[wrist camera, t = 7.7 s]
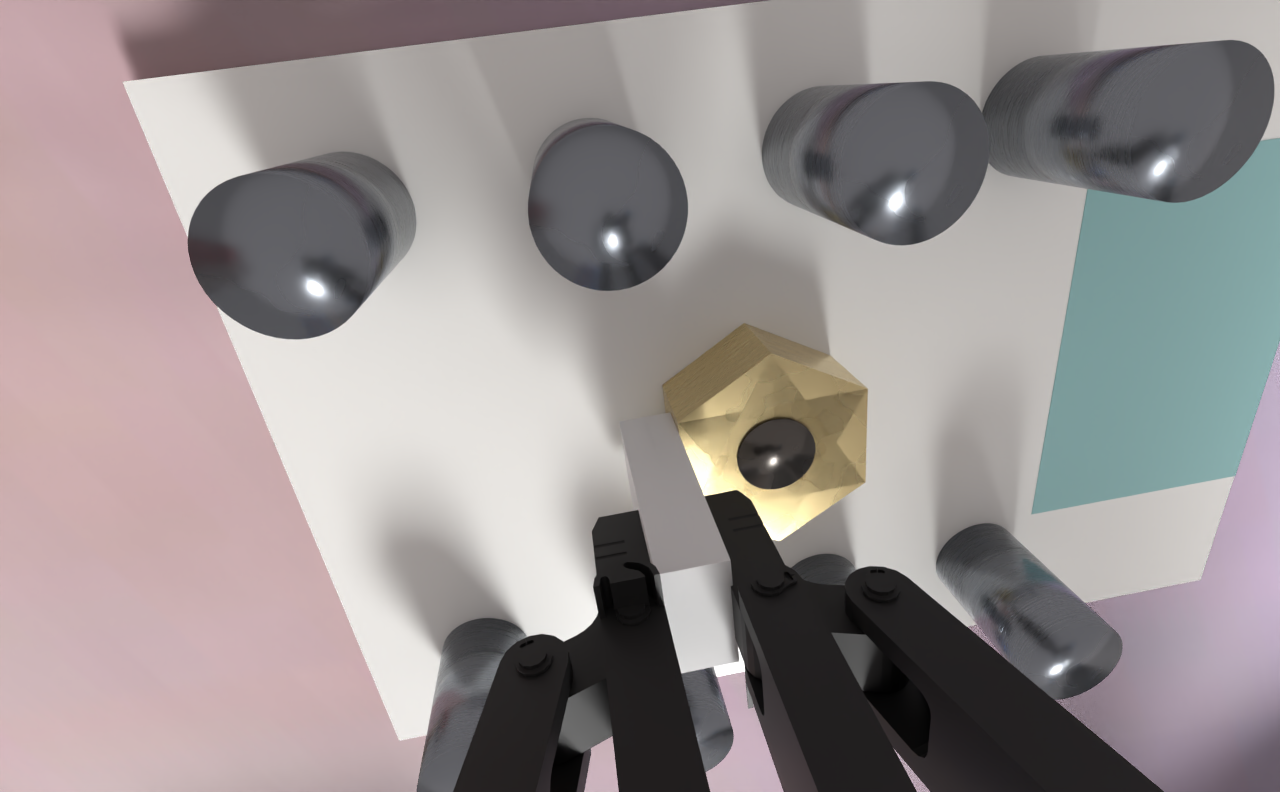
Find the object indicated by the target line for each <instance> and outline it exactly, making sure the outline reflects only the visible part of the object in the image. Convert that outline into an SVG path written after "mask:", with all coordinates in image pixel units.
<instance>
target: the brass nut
mask: <svg viewBox="0 0 1280 792" xmlns="http://www.w3.org/2000/svg"><path fill="white" fill-rule="evenodd" d="M662 388H663V396H664V404H665V412H666V413H671V415H672V418H673V420H674V423H675V425H676V428H677V430H678V433H679V435H680V437H681V440H682V442H683V445H684V447H685V450H686V452H687V455H688V457H689V459H690V462H691V464H692V467H693V469H694V472H695V474H696V477H697V479H698V482H699V484H700V486H701V489H702V491H703V494H704V496H707V495H712V494H717V493H723V492H728V491H733V490H738V491H740V492H741V493H742V494H744V495H745V496H747V497H748V498H749V499H751V500H752V502H753V504H754V506H755V508H756V510H757V512H758V515H759V516H760V518H761V520H762V522H763V523H764V526H765V527H766V529H767V531H768V533H769V535H770V537H771V539H774V540H778V541H781V540H782V539H784V538H785V537H787V536H788V535H790V534H791V533H793V532H794V531H796V530H797V529H798V528H800V527H801V526H803V525H804V524H806V523H807V522H809V521H810V520H812V519H813V518H814V517H816V516H817V515H819V514H820V513H822V512H823V511H825V510H826V509H828V508H829V507H830V506H832V505H833V504H835V503H836V502H838V501H839V500H841V499H842V498H844V497H845V496H846V495H848V494H849V493H851V492H852V491H854V490H855V489H857V488H858V487H860V486H861V485H863V484H864V483H865V482H866V445H867V405H868V388H867V387H865V386H864V385H863V384H862V383H861V382H860V381H859V380H858V379H856V378H855V377H854V376H853V375H852V374H851V373H850V372H849V371H847V370H846V369H845V368H844V367H843V366H842V365H841V364H840V363H838V362H837V361H836V360H835V359H834V358H833V357H832V356H831V355H828V354H825V353H823V352H820V351H817V350H815V349H812V348H809V347H807V346H804V345H801V344H799V343H796V342H793V341H791V340H788V339H785V338H783V337H780V336H777V335H775V334H772V333H769V332H767V331H764V330H761V329H759V328H756V327H754V326H751V325H748V324H746V323H743V324H742V325H741V326H739V327H738V328H737V329H735V330H734V331H733V332H731V333H730V334H729V335H728V336H726V337H725V338H724V339H722V340H721V341H720V342H718V343H717V344H716V345H714V346H713V347H712V348H710V349H709V350H708V351H706V352H705V353H704V354H702V355H701V356H700V357H699V358H697V359H696V360H695V361H693V362H692V363H691V364H689V365H688V366H687V367H685V368H684V369H683V370H681V371H680V372H679V373H677V374H676V375H675V376H673V377H672V378H671V379H670V380H668V381H667V382H666V383H664V384H663V385H662Z"/></svg>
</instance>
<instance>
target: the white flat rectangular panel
mask: <svg viewBox="0 0 1280 792" xmlns="http://www.w3.org/2000/svg"><path fill="white" fill-rule="evenodd" d="M1220 40H1238V41H1243V42H1246V43H1249V44H1251V45H1252V46H1254V47H1256V48H1257V49H1258V50H1259V51H1260V52H1262V54H1263V55H1264V56H1265V58H1266V59H1267V61H1268V63H1269V65H1270V67H1271V70H1272V73H1273V78H1274V103H1273V108H1272V113H1271V117H1270V120H1269V123H1268V126H1267V128H1266V130H1265V133H1264V135H1263V137H1262V139H1261V141H1260V143H1259V144H1258V146H1257V148H1256V149H1255V151H1254V152H1253V154H1252V155H1251V157H1250V158H1249V159H1248V160H1247V162H1246V163H1245V164H1244V165H1243V167H1242V168H1241V169H1240V170H1239V171H1238V172H1237V173H1236V174H1235V175H1234V176H1233V177H1232V178H1231V179H1229V180H1228V181H1227V182H1226V183H1224V184H1223V185H1222V186H1220V187H1219V188H1217V189H1216V190H1214V191H1213V192H1211V193H1209V194H1207V195H1205V196H1203V197H1200V198H1198V199H1195V200H1192V201H1187V202H1180V203H1170V202H1162V201H1156V200H1150V199H1144V198H1138V197H1132V196H1126V195H1120V194H1114V193H1108V192H1102V191H1096V190H1091V189H1085V188H1079V187H1073V186H1067V185H1061V184H1055V183H1049V182H1043V181H1037V180H1031V179H1025V178H1019V177H1013V176H1008V175H1005V174H1002V173H1000V172H998V171H997V170H995V169H994V168H993V167H992V166H991V165H990V164H989V163H988V167H987V171H986V174H985V178H984V180H983V183H982V185H981V188H980V190H979V192H978V194H977V196H976V198H975V199H974V201H973V202H972V204H971V205H970V207H969V208H968V209H967V210H966V212H965V213H964V214H963V215H962V216H961V217H960V218H959V219H958V220H957V221H956V222H955V223H954V224H953V225H952V226H950V227H949V228H948V229H947V230H945V231H944V232H942V233H941V234H939V235H937V236H935V237H933V238H931V239H929V240H926V241H923V242H921V243H916V244H912V245H902V246H901V245H890V244H885V243H882V242H879V241H877V240H874V239H872V238H869V237H867V236H865V235H862V234H860V233H858V232H855V231H853V230H851V229H848V228H846V227H844V226H841V225H839V224H837V223H834V222H832V221H830V220H827V219H825V218H823V217H820V216H818V215H816V214H813V213H811V212H809V211H806V210H804V209H802V208H799V207H797V206H795V205H792V204H790V203H788V202H787V201H785V200H783V199H782V198H781V197H779V196H778V195H777V194H776V192H775V191H774V190H773V189H772V187H771V186H770V184H769V182H768V180H767V178H766V176H765V173H764V169H763V164H762V146H763V140H764V136H765V132H766V130H767V127H768V125H769V123H770V121H771V119H772V117H773V116H774V114H775V113H776V111H777V110H778V109H779V108H780V107H781V106H782V104H784V103H785V102H786V101H787V100H788V99H789V98H791V97H792V96H793V95H795V94H797V93H799V92H800V91H802V90H805V89H808V88H811V87H816V86H831V85H854V84H877V83H900V82H922V81H935V82H943V83H946V84H950V85H952V86H955V87H957V88H959V89H960V90H962V91H963V92H965V93H966V94H967V95H969V96H970V97H971V98H972V99H973V100H974V102H975V103H976V104H977V106H978V107H979V109H980V110H981V112H982V111H983V108H984V105H985V103H986V100H987V98H988V96H989V94H990V93H991V91H992V90H993V88H994V86H995V85H996V84H997V83H998V81H999V80H1000V79H1001V78H1002V77H1003V76H1004V75H1005V74H1006V73H1007V72H1008V71H1009V70H1010V69H1012V68H1013V67H1015V66H1016V65H1018V64H1019V63H1021V62H1023V61H1025V60H1027V59H1030V58H1033V57H1037V56H1044V55H1056V54H1068V53H1080V52H1091V51H1103V50H1115V49H1127V48H1138V47H1150V46H1162V45H1173V44H1185V43H1197V42H1209V41H1220ZM123 84H124V87H125V89H126V92H127V94H128V96H129V99H130V101H131V103H132V106H133V108H134V111H135V113H136V115H137V118H138V120H139V123H140V125H141V127H142V130H143V132H144V134H145V137H146V139H147V142H148V144H149V146H150V149H151V151H152V153H153V156H154V158H155V161H156V163H157V165H158V168H159V170H160V172H161V175H162V177H163V180H164V182H165V184H166V187H167V189H168V192H169V194H170V196H171V199H172V201H173V203H174V206H175V208H176V211H177V213H178V215H179V218H180V220H181V222H182V225H183V227H184V230H185V232H186V234H187V237H188V231H189V226H190V222H191V218H192V216H193V214H194V211H195V209H196V208H197V206H198V204H199V203H200V201H201V200H202V199H203V198H204V197H205V196H206V195H207V193H208V192H210V191H211V190H212V189H213V188H215V187H216V186H217V185H219V184H221V183H223V182H225V181H226V180H229V179H232V178H235V177H237V176H241V175H245V174H249V173H253V172H257V171H261V170H265V169H269V168H273V167H276V166H280V165H284V164H288V163H292V162H296V161H300V160H304V159H308V158H312V157H316V156H319V155H323V154H327V153H332V152H342V151H344V152H354V153H359V154H363V155H366V156H369V157H371V158H373V159H375V160H377V161H379V162H380V163H382V164H384V165H385V166H386V167H388V168H389V169H390V170H392V171H393V172H394V173H395V174H396V175H397V176H398V177H399V179H400V180H401V181H402V182H403V184H404V185H405V187H406V188H407V190H408V192H409V194H410V196H411V198H412V201H413V204H414V207H415V212H416V222H417V224H416V233H415V238H414V240H413V243H412V246H411V247H410V249H409V251H408V252H407V254H406V255H405V256H404V258H403V259H402V260H401V261H400V262H399V263H398V264H397V266H396V267H395V268H394V269H393V270H392V271H391V272H390V274H389V275H388V276H387V277H386V278H385V279H384V280H383V281H382V283H381V284H380V285H379V286H378V287H377V288H376V289H375V291H374V292H373V293H372V294H371V295H370V296H369V297H368V299H367V300H366V301H365V302H364V303H363V304H362V305H361V306H360V308H359V309H358V310H357V311H356V312H355V313H354V314H353V316H352V317H351V318H350V319H348V320H347V321H346V322H345V323H344V324H343V325H341V326H340V327H338V328H337V329H335V330H333V331H331V332H329V333H327V334H324V335H321V336H318V337H314V338H309V339H299V340H296V339H281V338H275V337H271V336H267V335H263V334H261V333H258V332H255V331H253V330H251V329H249V328H247V327H245V326H243V325H241V324H239V323H238V322H236V321H235V320H233V319H232V318H230V317H229V316H228V315H226V314H225V313H224V312H223V311H222V310H221V309H220V308H219V307H218V306H217V308H218V310H219V313H220V315H221V318H222V320H223V322H224V325H225V327H226V330H227V332H228V334H229V337H230V339H231V341H232V344H233V346H234V349H235V351H236V353H237V356H238V358H239V360H240V363H241V365H242V368H243V370H244V372H245V375H246V377H247V379H248V382H249V384H250V387H251V389H252V391H253V394H254V396H255V399H256V401H257V403H258V406H259V408H260V410H261V413H262V415H263V418H264V420H265V422H266V425H267V427H268V429H269V432H270V434H271V437H272V439H273V441H274V444H275V446H276V448H277V451H278V453H279V456H280V458H281V460H282V463H283V465H284V468H285V470H286V472H287V475H288V477H289V479H290V482H291V484H292V487H293V489H294V491H295V494H296V496H297V498H298V501H299V503H300V506H301V508H302V510H303V513H304V515H305V517H306V520H307V522H308V525H309V527H310V529H311V532H312V534H313V537H314V539H315V541H316V544H317V546H318V548H319V551H320V553H321V556H322V558H323V560H324V563H325V565H326V567H327V570H328V572H329V575H330V577H331V579H332V582H333V584H334V586H335V589H336V591H337V594H338V596H339V598H340V601H341V603H342V606H343V608H344V610H345V613H346V615H347V617H348V620H349V622H350V625H351V627H352V629H353V632H354V634H355V636H356V639H357V641H358V644H359V646H360V648H361V651H362V653H363V655H364V658H365V660H366V663H367V665H368V667H369V670H370V672H371V675H372V677H373V679H374V682H375V684H376V686H377V689H378V691H379V694H380V696H381V698H382V701H383V703H384V705H385V708H386V710H387V713H388V715H389V717H390V720H391V722H392V724H393V727H394V729H395V732H396V734H397V736H398V739H399V741H400V740H405V739H410V738H415V737H420V736H425V735H427V730H428V725H429V719H430V714H431V709H432V703H433V698H434V692H435V687H436V681H437V676H438V671H439V665H440V660H441V654H442V649H443V645H444V642H445V640H446V638H447V636H448V635H449V634H450V633H451V632H452V631H453V630H454V629H455V628H456V627H458V626H460V625H461V624H463V623H465V622H468V621H471V620H475V619H480V618H496V619H502V620H505V621H508V622H511V623H513V624H514V625H516V626H518V627H519V628H520V629H521V630H522V631H523V632H524V633H525V634H526V636H527V637H528V636H532V635H538V634H547V635H553V636H555V637H557V638H559V639H560V640H562V641H563V642H564V641H566V640H568V639H570V638H572V637H574V636H576V635H578V634H579V633H581V632H583V631H584V630H585V629H586V628H588V627H589V626H590V625H591V624H592V623H593V621H594V620H595V618H596V617H597V614H598V609H597V604H596V599H595V594H594V590H593V584H594V578H595V577H596V575H597V574H596V565H595V556H594V547H593V539H592V530H593V528H594V526H595V524H596V522H597V520H598V518H599V517H603V516H608V515H614V514H619V513H624V512H630V511H634V508H633V503H632V498H631V492H630V485H629V479H628V473H627V467H626V461H625V455H624V448H623V442H622V436H621V430H620V424H619V422H620V421H625V420H631V419H636V418H642V417H648V416H653V415H659V414H664V413H666V412H665V404H664V396H663V388H662V385H663V384H664V383H666V382H667V381H668V380H670V379H671V378H672V377H673V376H675V375H676V374H677V373H679V372H680V371H681V370H683V369H684V368H685V367H687V366H688V365H689V364H691V363H692V362H693V361H695V360H696V359H697V358H699V357H700V356H701V355H702V354H704V353H705V352H706V351H708V350H709V349H710V348H712V347H713V346H714V345H716V344H717V343H718V342H720V341H721V340H722V339H724V338H725V337H726V336H728V335H729V334H730V333H731V332H733V331H734V330H735V329H737V328H738V327H739V326H741V325H742V324H743V323H746V324H748V325H751V326H754V327H756V328H759V329H761V330H764V331H767V332H769V333H772V334H775V335H777V336H780V337H783V338H785V339H788V340H791V341H793V342H796V343H799V344H801V345H804V346H807V347H809V348H812V349H815V350H817V351H820V352H823V353H825V354H828V355H831V356H832V357H833V358H834V359H835V360H836V361H837V362H838V363H840V364H841V365H842V366H843V367H844V368H845V369H846V370H847V371H849V372H850V373H851V374H852V375H853V376H854V377H855V378H856V379H858V380H859V381H860V382H861V383H862V384H863V385H864V386H865V387H867V388H868V405H867V445H866V482H865V483H864V484H863V485H861V486H860V487H858V488H857V489H855V490H854V491H852V492H851V493H849V494H848V495H846V496H845V497H844V498H842V499H841V500H839V501H838V502H836V503H835V504H833V505H832V506H830V507H829V508H828V509H826V510H825V511H823V512H822V513H820V514H819V515H817V516H816V517H814V518H813V519H812V520H810V521H809V522H807V523H806V524H804V525H803V526H801V527H800V528H798V529H797V530H796V531H794V532H793V533H791V534H790V535H788V536H787V537H785V538H784V539H782V540H781V541H778V540H774V539H772V541H773V543H774V545H775V546H776V548H777V550H778V552H779V554H780V556H781V558H782V560H783V562H784V564H785V565H786V566H788V567H790V568H791V567H793V566H794V565H795V564H796V563H798V562H800V561H801V560H803V559H805V558H808V557H810V556H814V555H818V554H835V555H839V556H842V557H844V558H846V559H847V560H849V561H850V562H851V563H852V564H853V566H854V567H855V569H856V570H857V569H859V568H864V567H868V566H880V567H886V568H890V569H893V570H897V571H898V572H900V573H902V574H903V575H905V576H906V577H908V578H909V579H910V580H912V581H913V582H914V583H915V584H916V585H918V586H919V587H920V588H921V589H922V590H924V591H925V592H926V593H927V594H928V595H929V596H931V597H932V598H933V599H934V600H935V601H937V602H938V603H939V604H940V605H941V606H943V607H944V608H945V609H946V610H947V611H949V612H950V613H951V614H952V615H953V616H955V617H956V618H957V619H958V620H959V621H961V622H962V623H963V624H964V625H965V626H967V627H969V626H974V625H977V624H976V623H975V622H974V620H973V619H972V618H971V617H970V616H969V614H968V613H967V612H966V611H965V610H964V608H963V607H962V606H961V605H960V603H959V602H958V601H957V600H956V599H955V597H954V596H953V595H952V594H951V592H950V591H949V590H948V589H947V588H946V586H945V585H944V584H943V583H942V582H941V580H940V579H939V577H938V575H937V573H936V561H937V558H938V555H939V553H940V551H941V549H942V548H943V546H944V545H945V544H946V543H947V542H948V540H949V539H951V538H952V537H953V536H954V535H955V534H957V533H958V532H960V531H962V530H963V529H966V528H968V527H970V526H973V525H977V524H983V523H991V524H997V525H1000V526H1002V527H1004V528H1005V529H1006V530H1007V531H1008V532H1009V533H1011V534H1012V535H1013V536H1014V537H1015V538H1016V539H1017V540H1018V541H1019V542H1020V543H1021V544H1022V545H1023V546H1025V547H1026V548H1027V549H1028V550H1029V551H1030V552H1031V553H1032V554H1033V555H1034V556H1035V557H1036V558H1037V559H1038V560H1040V561H1041V562H1042V563H1043V564H1044V565H1045V566H1046V567H1047V568H1048V569H1049V570H1050V571H1051V572H1052V573H1053V574H1055V575H1056V576H1057V577H1058V578H1059V579H1060V580H1061V581H1062V582H1063V583H1064V584H1065V585H1066V586H1067V587H1068V588H1070V589H1071V590H1072V591H1073V592H1074V593H1075V594H1076V595H1077V596H1078V597H1079V598H1080V599H1081V600H1082V601H1083V602H1085V603H1088V602H1093V601H1098V600H1103V599H1108V598H1113V597H1118V596H1123V595H1128V594H1133V593H1138V592H1143V591H1148V590H1153V589H1158V588H1163V587H1168V586H1173V585H1178V584H1183V583H1188V582H1193V581H1198V580H1201V577H1202V574H1203V571H1204V568H1205V565H1206V562H1207V559H1208V556H1209V553H1210V550H1211V546H1212V543H1213V540H1214V537H1215V534H1216V531H1217V528H1218V525H1219V522H1220V519H1221V516H1222V513H1223V510H1224V507H1225V504H1226V501H1227V498H1228V495H1229V492H1230V489H1231V486H1232V483H1233V479H1234V476H1235V475H1236V472H1237V469H1238V466H1239V463H1240V460H1241V457H1242V454H1243V451H1244V448H1245V445H1246V442H1247V439H1248V436H1249V433H1250V430H1251V427H1252V424H1253V421H1254V417H1255V414H1256V411H1257V408H1258V405H1259V402H1260V399H1261V396H1262V393H1263V390H1264V387H1265V384H1266V381H1267V378H1268V375H1269V372H1270V369H1271V366H1272V363H1273V360H1274V357H1275V354H1276V351H1277V348H1278V344H1279V341H1280V0H768V1H760V2H752V3H744V4H736V5H728V6H720V7H713V8H705V9H697V10H689V11H681V12H673V13H665V14H657V15H649V16H641V17H633V18H625V19H617V20H609V21H601V22H593V23H585V24H578V25H570V26H562V27H554V28H546V29H538V30H530V31H522V32H514V33H506V34H498V35H490V36H482V37H474V38H466V39H458V40H450V41H443V42H435V43H427V44H419V45H411V46H403V47H395V48H387V49H379V50H371V51H363V52H355V53H347V54H339V55H331V56H323V57H315V58H307V59H300V60H292V61H284V62H276V63H268V64H260V65H252V66H244V67H236V68H228V69H220V70H212V71H204V72H196V73H188V74H180V75H172V76H165V77H157V78H149V79H141V80H133V81H125V82H123ZM581 118H599V119H603V120H607V121H610V122H613V123H615V124H618V125H621V126H624V127H627V128H630V129H632V130H635V131H638V132H640V133H642V134H644V135H646V136H648V137H650V138H651V139H652V140H654V141H655V142H656V143H658V144H659V145H660V146H661V147H662V148H663V149H664V150H665V151H666V152H667V153H668V154H669V155H670V157H671V158H672V159H673V161H674V162H675V164H676V166H677V167H678V169H679V171H680V173H681V176H682V178H683V180H684V184H685V188H686V192H687V198H688V218H687V225H686V229H685V233H684V236H683V238H682V241H681V243H680V245H679V247H678V249H677V251H676V253H675V254H674V256H673V257H672V259H671V260H670V261H669V262H668V263H667V265H666V266H665V267H664V268H663V269H662V270H661V271H659V272H658V273H657V274H656V275H655V276H653V277H652V278H650V279H649V280H647V281H645V282H643V283H641V284H639V285H636V286H634V287H631V288H627V289H622V290H615V291H599V290H594V289H589V288H585V287H582V286H579V285H577V284H575V283H573V282H571V281H569V280H567V279H566V278H564V277H563V276H561V275H560V274H559V273H558V272H556V271H555V270H554V269H553V268H552V267H551V266H550V265H549V264H548V263H547V261H546V260H545V259H544V257H543V256H542V255H541V253H540V251H539V249H538V248H537V246H536V244H535V241H534V239H533V236H532V233H531V229H530V225H529V218H528V198H529V191H530V184H531V178H532V171H533V165H534V161H535V158H536V155H537V153H538V151H539V149H540V147H541V145H542V144H543V142H544V141H545V140H546V138H547V137H548V136H549V135H550V134H551V133H552V132H553V131H554V130H556V129H557V128H558V127H560V126H562V125H563V124H565V123H567V122H570V121H573V120H576V119H581ZM738 651H739V662H734V663H729V664H725V665H720V666H715V667H714V669H715V672H716V676H717V677H719V676H724V675H729V674H734V673H739V672H744V671H745V666H744V661H743V658H742V656H741V653H740V650H739V647H738Z"/></svg>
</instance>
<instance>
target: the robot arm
mask: <svg viewBox="0 0 1280 792" xmlns="http://www.w3.org/2000/svg"><path fill="white" fill-rule="evenodd" d="M619 424H620V430H621V436H622V442H623V448H624V455H625V461H626V467H627V473H628V479H629V485H630V492H631V498H632V503H633V508H634V511H630V512H624V513H619V514H614V515H608V516H603V517H599V518H598V520H597V522H596V524H595V526H594V528H593V530H592V539H593V547H594V556H595V565H596V574H597V575H596V577H595V578H594V584H593V590H594V594H595V599H596V604H597V609H598V614H597V617H596V618H595V620H594V621H593V623H592V624H591V625H590V626H589V627H588V628H586V629H585V630H584V631H583V632H581V633H579V634H578V635H576V636H574V637H572V638H570V639H568V640H566V641H564V642H563V641H562V640H560V639H559V638H557V637H555V636H553V635H547V634H538V635H532V636H528V637H526V638H524V639H522V640H520V641H517V642H516V643H515V644H514V645H512V646H511V647H510V648H509V649H508V650H507V651H506V652H505V654H504V656H503V657H502V659H501V661H500V663H499V666H498V669H497V671H496V674H495V677H494V680H493V683H492V685H491V688H490V691H489V694H488V696H487V699H486V702H485V705H484V707H483V710H482V713H481V716H480V718H479V721H478V724H477V727H476V730H475V732H474V735H473V738H472V741H471V743H470V746H469V749H468V752H467V754H466V757H465V760H464V763H463V765H462V768H461V771H460V774H459V776H458V779H457V782H456V785H455V788H454V790H453V792H584V789H585V784H586V778H587V773H588V767H589V761H590V756H591V748H592V747H593V746H595V745H597V744H599V743H601V742H602V741H604V740H606V739H608V738H610V737H611V736H613V743H614V752H615V760H616V769H617V778H618V787H619V792H710V789H709V785H708V781H707V777H706V773H705V769H704V765H703V761H702V757H701V753H700V748H699V744H698V740H697V736H696V732H695V728H694V724H693V720H692V716H691V712H690V707H689V703H688V699H687V695H686V691H685V687H684V683H683V679H682V675H681V673H686V672H691V671H696V670H700V669H705V668H710V667H715V666H720V665H725V664H729V663H734V662H739V651H738V647H739V650H740V653H741V656H742V658H743V661H744V666H745V678H746V690H747V701H748V708H753V704H754V707H755V710H756V713H757V716H758V718H759V721H760V724H761V727H762V730H763V733H764V736H765V739H766V742H767V744H768V747H769V750H770V753H771V756H772V759H773V762H774V765H775V768H776V771H777V773H778V776H779V779H780V782H781V785H782V788H783V791H784V792H917V791H916V789H915V787H914V786H913V784H912V782H911V780H910V778H909V776H908V774H907V773H906V771H905V769H904V767H903V765H902V763H901V761H900V760H899V758H898V756H897V754H896V752H895V750H896V751H897V753H898V754H899V755H900V756H901V757H902V758H903V760H904V761H905V762H906V763H907V764H908V766H909V767H910V768H911V769H912V770H913V771H914V773H915V774H916V775H917V776H918V777H919V779H920V780H921V781H922V782H923V783H924V784H925V786H926V787H927V788H928V789H929V790H930V792H1164V791H1163V790H1161V789H1160V788H1159V787H1158V786H1157V785H1155V784H1154V783H1153V782H1152V781H1151V780H1149V779H1148V778H1147V777H1146V776H1145V775H1143V774H1142V773H1141V772H1140V771H1139V770H1137V769H1136V768H1135V767H1134V766H1133V765H1131V764H1130V763H1129V762H1128V761H1127V760H1125V759H1124V758H1123V757H1122V756H1121V755H1120V754H1118V753H1117V752H1116V751H1115V750H1114V749H1112V748H1111V747H1110V746H1109V745H1108V744H1106V743H1105V742H1104V741H1103V740H1102V739H1100V738H1099V737H1098V736H1097V735H1096V734H1094V733H1093V732H1092V731H1091V730H1090V729H1088V728H1087V727H1086V726H1085V725H1084V724H1082V723H1081V722H1080V721H1079V720H1078V719H1076V718H1075V717H1074V716H1073V715H1072V714H1071V713H1069V712H1068V711H1067V710H1066V709H1065V708H1063V707H1062V706H1061V705H1060V704H1059V703H1057V702H1056V701H1055V700H1054V699H1053V698H1051V697H1050V696H1049V695H1048V694H1047V693H1045V692H1044V691H1043V690H1042V689H1041V688H1039V687H1038V686H1037V685H1036V684H1035V683H1033V682H1032V681H1031V680H1030V679H1029V678H1027V677H1026V676H1025V675H1024V674H1023V673H1022V672H1020V671H1019V670H1018V669H1017V668H1016V667H1014V666H1013V665H1012V664H1011V663H1010V662H1008V661H1007V660H1006V659H1005V658H1004V657H1002V656H1001V655H1000V654H999V653H998V652H996V651H995V650H994V649H993V648H992V647H990V646H989V645H988V644H987V643H986V642H984V641H983V640H982V639H981V638H980V637H978V636H977V635H976V634H975V633H974V632H973V631H971V630H970V629H969V628H968V627H967V626H965V625H964V624H963V623H962V622H961V621H959V620H958V619H957V618H956V617H955V616H953V615H952V614H951V613H950V612H949V611H947V610H946V609H945V608H944V607H943V606H941V605H940V604H939V603H938V602H937V601H935V600H934V599H933V598H932V597H931V596H929V595H928V594H927V593H926V592H925V591H924V590H922V589H921V588H920V587H919V586H918V585H916V584H915V583H914V582H913V581H912V580H910V579H909V578H908V577H906V576H905V575H903V574H902V573H900V572H898V571H897V570H893V569H890V568H886V567H880V566H868V567H864V568H859V569H857V570H855V571H854V572H852V573H851V574H849V576H848V578H847V580H846V581H845V585H829V584H818V583H813V582H809V581H806V580H803V579H802V578H801V577H800V575H799V574H798V573H797V572H796V571H795V570H794V569H792V568H790V567H788V566H786V565H785V564H784V562H783V560H782V558H781V556H780V554H779V552H778V550H777V548H776V546H775V545H774V543H773V541H772V539H771V537H770V535H769V533H768V531H767V529H766V527H765V526H764V523H763V522H762V520H761V518H760V516H759V515H758V512H757V510H756V508H755V506H754V504H753V502H752V500H751V499H749V498H748V497H747V496H745V495H744V494H742V493H741V492H740V491H738V490H733V491H728V492H723V493H717V494H712V495H707V496H704V494H703V491H702V489H701V486H700V484H699V482H698V479H697V477H696V474H695V472H694V469H693V467H692V464H691V462H690V459H689V457H688V455H687V452H686V450H685V447H684V445H683V442H682V440H681V437H680V435H679V433H678V430H677V428H676V425H675V423H674V420H673V418H672V415H671V413H664V414H659V415H653V416H648V417H642V418H636V419H631V420H625V421H620V422H619ZM894 749H895V750H894Z"/></svg>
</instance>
